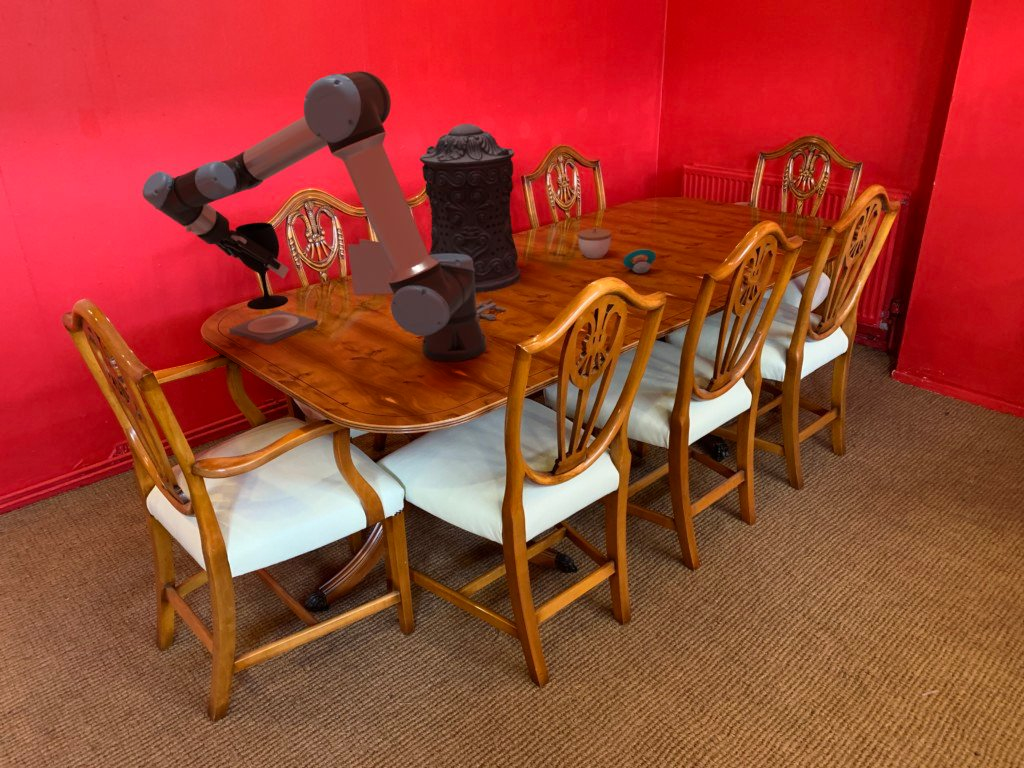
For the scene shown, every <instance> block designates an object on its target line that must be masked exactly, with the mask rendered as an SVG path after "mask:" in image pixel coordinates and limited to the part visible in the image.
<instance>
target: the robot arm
mask: <svg viewBox="0 0 1024 768" xmlns="http://www.w3.org/2000/svg"><path fill="white" fill-rule="evenodd" d="M391 105H392V99H391V94H390V92H389V89H388V87H387V85H386V84H385V83H384V82H383V81H382V79H381V78H380V77H378V76H377V75H375V74H374V73H372V72H368V71H362V70H358V71H352V72H345V73H332V74H330V75H326V76H324V77H321V78H318V79H316V81H314V82H313V83H312V84H311V85H310V86H309V87H308V90H307V91H306V94H305V98H304V100H303V114H304V115H303V116H302V117H301V118H299V119H297V120H295V121H293V122H292V123H290V124H288V125H287V126H285V127H283V128H282V129H280V130H278V131H277V132H275V133H273V134H271V135H270V136H268V137H266V138H265V139H263V140H261V141H259V142H258V143H256V144H254V145H252V146H251V147H249V148H247V149H246V150H244V151H242V152H240V153H239V154H237V155H235V156H233V157H231V158H228V159H225V160H222V161H219V160H215V161H212V162H208V163H204V164H203V165H200V166H199V167H198V168H197V167H196V168H195V169H193V170H190V171H189V172H186V173H184V174H181V175H178V176H176V177H172V175H171V174H169V173H166V172H165V171H156V172H155V173H153V174H151V175H150V176H149V177H148V178H147V179H146V181H145V182H144V185H143V188H142V197H143V198H144V199H145V200H146V201H147V202H148V203H149V204H150V205H152V206H153V207H154V208H155V210H159V211H160V212H161V213H162V214H164V215H166V216H167V217H169V218H170V219H172V220H173V221H174V222H176V223H177V224H179V225H180V226H182V227H183V228H185V231H186V233H190V232H191V233H192V234H194V235H196V237H198V238H199V239H200V240H201V241H203V242H205V243H206V244H208V245H215V246H217V247H218V248H219V249H220V250H221V251H223V253H224V254H226V255H227V256H229V257H231V256H232V257H233V258H234V259H237V260H238V261H240V262H241V263H243V262H242V261H241V260H240V258H239V256H238V254H237V251H239V252H241V251H243V252H245V253H246V254H248V255H250V256H252V257H254V258H256V259H257V260H259V261H261V262H263V263H265V264H264V265H265V266H264V267H268V268H269V270H271V271H272V272H274V273H275V274H276V275H278V276H279V277H281V278H282V279H285V277H286V275H287V273H288V271H290V270H289V268H288V266H286V265H284V264H283V263H281V262H280V261H279V260H278V259H277V260H276V259H275V255H274V254H272V253H271V252H269V251H268V250H266V249H265V248H263V247H261V246H260V245H258V244H257V243H255V242H253V241H252V240H250V239H249V238H248V237H246V236H245V235H244V234H241V235H239V234H238V233H237V232H235V231H236V230H234V229H230V221H229V218H227V217H226V216H225V215H223V214H222V213H221V212H219V211H218V210H216V209H215V208H214V207H213V206H211V205H210V204H212V203H213V202H216V201H218V200H223V199H225V198H227V197H230V196H233V195H236V194H239V193H241V192H244V191H247V190H253V189H254V188H257V187H258V186H260V185H261V184H262V183H263V182H264V181H265V180H267V179H269V178H270V177H273V176H274V175H276V174H278V173H280V172H281V171H283V170H286V169H287V168H289V167H290V166H293V165H294V164H297V163H298V162H300V161H302V160H304V159H305V158H307V157H310V156H311V155H313V154H315V153H317V152H318V151H320V150H322V149H324V148H326V147H328V149H329V151H330V154H331V155H332V156H333V157H336V158H338V159H340V160H341V161H342V162H343V164H344V165H345V169H346V171H347V172H348V175H349V178H350V179H351V183H352V184H353V187H354V188H355V190H356V193H357V196H358V197H359V200H360V203H361V205H362V207H363V210H364V212H365V214H366V216H367V218H368V221H369V222H370V225H371V228H372V229H373V232H374V234H375V237H376V239H377V242H379V244H380V246H381V248H382V251H383V253H384V255H385V258H386V260H387V262H388V264H389V267H390V272H391V274H390V276H389V279H388V282H389V285H390V287H391V289H392V292H393V296H392V299H391V303H390V311H391V315H392V317H393V320H394V321H395V323H396V324H397V325H398V326H399V327H400V328H401V329H402V330H404V331H405V332H409V333H410V334H412V335H414V336H419V337H420V336H421V337H423V340H422V353H423V355H424V356H425V357H426V358H428V359H431V360H433V361H438V362H461V361H465V360H470V359H473V358H476V357H478V356H480V355H482V354H483V353H484V352H485V351H486V349H487V338H486V336H485V334H484V333H483V330H482V327H481V324H480V321H478V319H477V311H476V310H477V309H476V306H477V297H476V295H477V293H475V276H474V272H475V269H474V266H473V260H472V258H471V257H470V256H468V255H464V254H451V253H448V254H433V255H430V253H429V252H428V249H427V247H426V246H425V243H424V240H423V238H422V236H421V233H420V231H419V228H418V226H417V223H416V221H415V219H414V217H413V214H412V211H411V210H410V207H409V204H408V203H407V200H406V198H405V194H404V192H403V189H402V188H401V184H400V183H399V181H398V178H397V176H396V174H395V171H394V168H393V166H392V164H391V162H390V159H389V156H388V155H387V152H386V149H385V147H384V145H383V144H384V141H385V138H386V135H387V132H386V130H385V127H384V125H383V124H384V123H385V122H386V121H387V119H388V117H389V115H390V112H391ZM238 246H240V247H239V248H238ZM236 250H237V251H236Z"/></svg>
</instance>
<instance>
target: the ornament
mask: <svg viewBox="0 0 1024 768" xmlns="http://www.w3.org/2000/svg"><path fill="white" fill-rule="evenodd" d="M632 259H633V260H632ZM656 259H657V254H656V252H655V251H653V250H651V249H646V248H645V249H644V248H641V249H637V250H634V251H631V252H629V253H628V254H627V255H626V256H625V257H624V258H623V261H622V264H623V265H624V266H625V268H627V269H630V270H632V271H633V272H635V273H636V274H645V273H646V272H647V273H648V271H650V269H651V266H652V264H653V263H654V262H655V260H656ZM632 261H633V262H632Z"/></svg>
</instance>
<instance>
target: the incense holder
mask: <svg viewBox="0 0 1024 768" xmlns="http://www.w3.org/2000/svg"><path fill="white" fill-rule="evenodd" d="M514 155H515V151H514V150H513V149H512V148H507V147H502V146H500V145H499V144H498V142H497V140H496V138H495V137H494V136H493V135H492V133H491V132H488V131H484V130H483V129H482V128H481V127H480V126H478V125H477V124H473V123H472V124H471V123H464V124H463V123H462V124H458V125H456V126H454V127H452V128H451V129H450V130H449V132H448V133H446V134H443V135H441V136H440V137H439V139H438V140H437V143H435V146H434V145H429V147H427V149H426V153H424V154H422V155H421V156H420V157H419V161H420V162H421V163H422V164H423V166H421V168H422V177H423V180H424V181H425V182H426V183H425V189H424V190H425V193H426V196H427V197H428V200H429V204H430V214H431V220H430V222H431V223H430V224H431V232H430V235H431V237H430V238H431V245H430V246H431V247H430V251H429V252H430V253H429V255H433V254H448V253H451V254H464V255H468V256H470V257H471V258H472V260H473V266H474V269H475V272H474V276H475V293H476V294H481V292H483V293H489V291H490V292H495V291H499V290H503V289H506V288H508V287H511V286H513V285H515V284H516V283H518V282H520V281H521V279H522V275H521V268H519V266H518V264H517V263H518V262H519V256H518V251H517V247H516V244H515V241H514V237H513V233H514V230H513V225H512V215H511V193H512V192H513V191H514V190H513V189H514V182H513V174H514V164H513V163H514V161H512V158H513V157H514ZM502 288H503V289H502ZM498 289H499V290H498ZM494 290H495V291H494Z"/></svg>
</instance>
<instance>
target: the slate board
mask: <svg viewBox="0 0 1024 768" xmlns="http://www.w3.org/2000/svg"><path fill="white" fill-rule="evenodd" d="M318 325H319V323H318V320H317V319H314V318H311V317H306V316H302V315H298V314H295V313H291V312H287V311H283V310H275V311H272V312H270V313H267V314H264V315H262V316H259V317H256V318H254V319H250V320H248V321H245V322H243V323H240V324H236V325H235V326H232V327H229V328H228V331H229V333H230V334H233V335H235V336H236V335H237V336H240V337H243V338H246V339H250V340H253V341H257V342H260V343H263V344H266V345H271V344H274V343H275V342H278V341H280V340H281V341H282V340H283V339H285V338H288V337H291V336H293V335H296V334H298V333H300V332H302V331H306V330H308V329H310V328H313V327H315V326H318ZM295 333H296V334H295Z"/></svg>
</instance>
